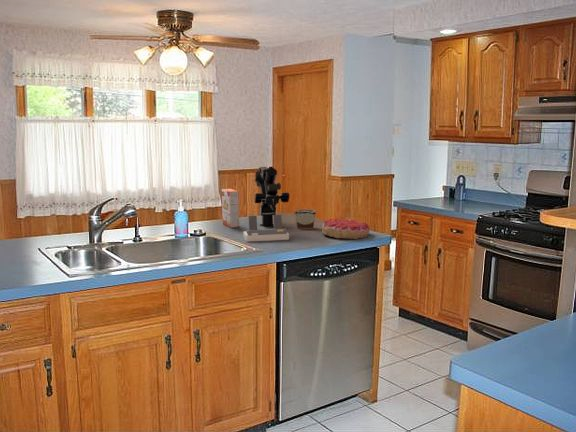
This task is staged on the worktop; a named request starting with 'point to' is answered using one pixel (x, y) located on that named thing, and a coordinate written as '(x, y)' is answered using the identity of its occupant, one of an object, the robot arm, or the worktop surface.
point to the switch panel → (266, 235)
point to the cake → (345, 228)
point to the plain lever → (252, 222)
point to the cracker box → (230, 207)
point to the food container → (305, 218)
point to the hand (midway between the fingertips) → (273, 210)
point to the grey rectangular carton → (277, 221)
